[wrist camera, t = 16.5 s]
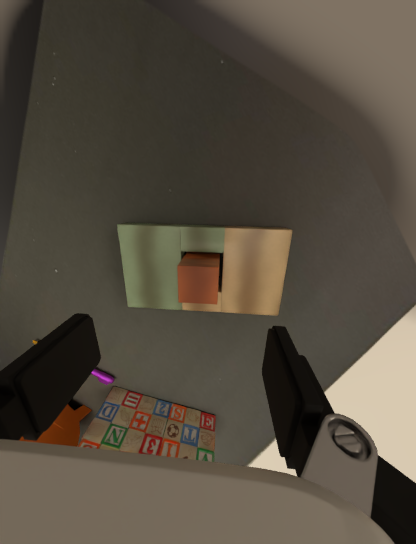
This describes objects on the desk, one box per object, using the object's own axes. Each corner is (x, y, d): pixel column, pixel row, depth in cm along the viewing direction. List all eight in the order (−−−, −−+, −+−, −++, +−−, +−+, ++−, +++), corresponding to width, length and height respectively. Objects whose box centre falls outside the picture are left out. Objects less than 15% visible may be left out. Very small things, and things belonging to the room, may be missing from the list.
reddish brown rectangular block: (219, 252, 27) (219, 267, 21) (218, 281, 29) (217, 304, 22) (188, 250, 28) (177, 265, 21) (188, 280, 29) (178, 302, 23)
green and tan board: (286, 227, 26) (292, 230, 23) (273, 306, 30) (278, 315, 27) (126, 222, 27) (116, 224, 25) (135, 299, 31) (127, 306, 29)
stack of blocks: (216, 414, 39) (213, 504, 27) (208, 433, 41) (202, 524, 29) (112, 385, 38) (64, 465, 26) (109, 406, 40) (64, 488, 29)
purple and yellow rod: (115, 377, 37) (36, 337, 35) (112, 383, 36) (30, 342, 34) (112, 382, 38) (36, 344, 37) (109, 388, 37) (30, 349, 36)
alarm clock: (31, 393, 41) (-134, 557, 22) (44, 378, 39) (-124, 543, 20) (84, 426, 43) (-24, 599, 24) (98, 413, 41) (-6, 590, 22)
